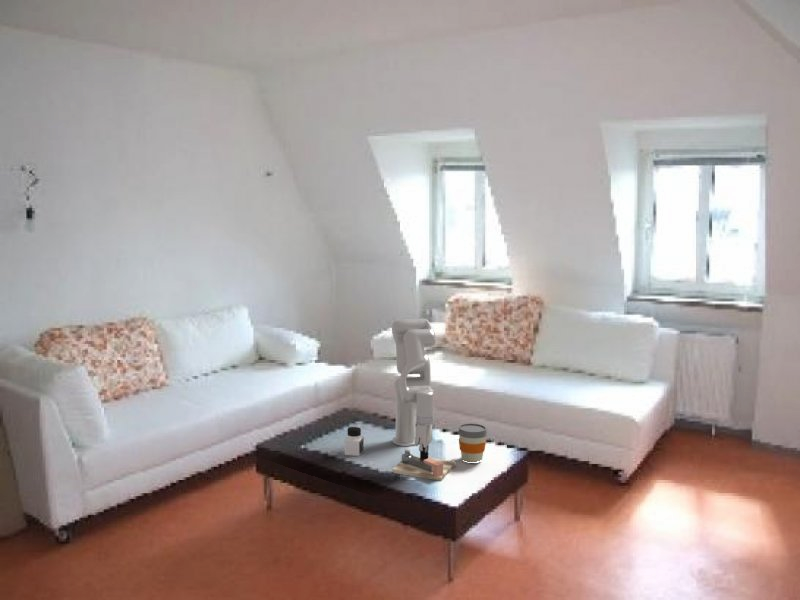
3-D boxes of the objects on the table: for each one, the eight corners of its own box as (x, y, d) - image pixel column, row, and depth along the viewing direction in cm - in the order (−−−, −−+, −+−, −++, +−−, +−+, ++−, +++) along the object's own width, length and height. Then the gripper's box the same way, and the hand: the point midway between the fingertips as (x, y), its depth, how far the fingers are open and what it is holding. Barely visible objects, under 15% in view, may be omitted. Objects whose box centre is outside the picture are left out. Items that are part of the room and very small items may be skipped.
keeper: (423, 471, 275) (423, 459, 274) (430, 469, 277) (430, 457, 277) (436, 476, 269) (436, 465, 268) (443, 474, 272) (443, 462, 271)
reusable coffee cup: (482, 467, 284) (483, 433, 282) (454, 463, 288) (455, 430, 286) (488, 457, 296) (489, 425, 294) (461, 453, 300) (462, 421, 298)
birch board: (408, 457, 294) (408, 443, 293) (455, 465, 286) (455, 450, 285) (392, 472, 277) (392, 456, 276) (441, 480, 269) (441, 464, 268)
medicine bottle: (359, 456, 296) (359, 430, 294) (344, 455, 297) (344, 429, 296) (363, 450, 303) (363, 425, 301) (348, 449, 304) (348, 424, 302)
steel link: (399, 461, 285) (399, 455, 284) (406, 458, 288) (407, 452, 288) (429, 472, 273) (430, 466, 273) (437, 468, 277) (437, 463, 276)
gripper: (422, 413, 288) (421, 453, 291) (410, 423, 274) (409, 465, 277) (438, 415, 285) (437, 455, 288) (427, 425, 272) (426, 467, 274)
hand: (424, 460), depth 282 cm, fingers closed
